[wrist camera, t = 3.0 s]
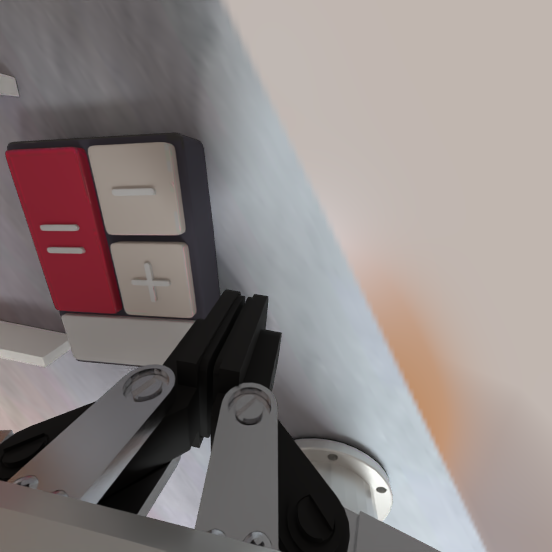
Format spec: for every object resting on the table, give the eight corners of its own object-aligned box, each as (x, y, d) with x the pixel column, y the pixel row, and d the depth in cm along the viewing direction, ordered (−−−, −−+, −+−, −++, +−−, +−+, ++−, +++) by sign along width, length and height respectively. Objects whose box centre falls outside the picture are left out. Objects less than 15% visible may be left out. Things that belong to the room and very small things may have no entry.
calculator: (174, 128, 13) (207, 382, 18) (209, 141, 17) (228, 345, 22) (-13, 139, 14) (65, 368, 19) (59, 149, 18) (108, 336, 23)
